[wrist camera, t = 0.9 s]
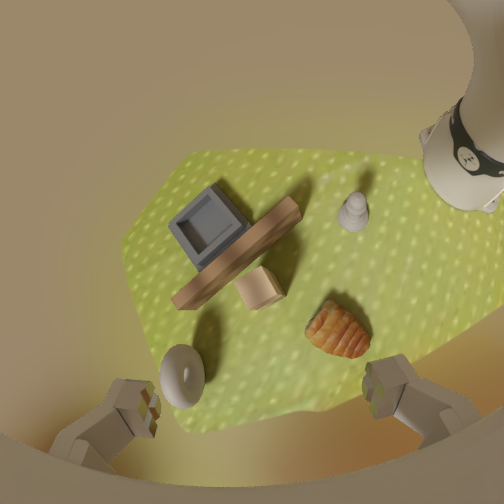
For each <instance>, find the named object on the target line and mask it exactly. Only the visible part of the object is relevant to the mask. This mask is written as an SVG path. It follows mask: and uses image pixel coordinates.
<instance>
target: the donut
mask: <svg viewBox="0 0 504 504" xmlns="http://www.w3.org/2000/svg"><path fill="white" fill-rule="evenodd" d="M160 383H161V388H162V391H163V393H164V395H165V397H166V399H167V400H168V401H169V402H170V403H171V404H172V405H173V406H174V407H177V408H181V409H187V408H190V407H193V406H194V405H195V404H196V403H197V402H198V401H199V400H200V398H201V396H202V393H203V390H204V384H205V371H204V366H203V362H202V359H201V357H200V355H199V354H198V352H197V351H196V350H195V349H194V348H193V347H191V346H189V345H185V344H178V345H176V346H174V347H172V348H170V349H169V351H168V352H167V353H166V354H165V356H164V358H163V361H162V363H161V369H160Z"/></svg>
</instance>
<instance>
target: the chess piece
mask: <svg viewBox="0 0 504 504" xmlns="http://www.w3.org/2000/svg"><path fill="white" fill-rule="evenodd" d="M366 204H367V199H366V197H365V195H364V194H363V193H361V192H353V193H351V194H350V195H349V197H348V200H347V202H346V203H345V204H343V205H342V207H341V208H340V210H339V212H338V220H339V223H340V225H341V226H342V227H343V228H344V229H346V230H347V231H350V232H357V231H360V230H362V229H363V228H364V227H365V226H366V225H367V222H368V212H367V209H366Z"/></svg>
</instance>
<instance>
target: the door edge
mask: <svg viewBox="0 0 504 504" xmlns="http://www.w3.org/2000/svg"><path fill="white" fill-rule="evenodd" d="M301 220H302V216H301V213H300V209H299V206H298V205H297V204H296V203H295V202H294V201H293V200H292V199H291V197H290V196H287V197H286V198H285V199H284V200H283V201H282V202H280V203H279V204H278V205H277V206H276V207H275V208H273V209H272V210H271V211H270V212H269V213H268V214H266V215H265V216H264V217H263V218H262V219H261V220H259V221H258V222H257V223H256V224H255V225H254V226H252V227H251V228H250V229H249V230H248V231H247V232H246V233H244V234H243V235H242V236H241V237H240V238H239V239H238V240H236V241H235V242H234V243H233V244H232V245H231V246H229V247H228V248H227V249H226V250H225V251H224V252H223V253H222V254H220V255H219V256H218V257H217V258H216V259H215V260H214V261H212V262H211V263H210V264H209V265H208V266H207V267H206V268H205V269H203V270H202V271H201V272H200V273H199V274H198V275H197V276H195V277H194V278H193V279H192V280H191V281H190V282H189V283H188V284H187V285H185V286H184V287H183V288H182V289H181V290H180V291H179V292H178V293H176V294H175V295H174V296H173V297H172V298H171V301H172V302H173V304H174V305H175V307H176V308H177V310H197V309H198V308H199V307H200V306H202V305H203V304H204V303H205V302H206V301H207V300H209V299H210V298H211V297H212V296H213V295H215V294H216V293H217V292H218V291H219V290H220V289H222V288H223V287H224V286H225V285H226V284H227V283H229V282H230V281H231V280H232V279H233V278H234V277H236V276H237V275H238V274H239V273H240V272H242V271H243V270H244V269H245V268H246V267H247V266H249V265H250V264H251V263H252V262H253V261H254V260H256V259H257V258H258V257H259V256H260V255H261V254H263V253H264V252H265V251H266V250H267V249H268V248H269V247H271V246H272V245H273V244H274V243H275V242H276V241H278V240H279V239H280V238H281V237H282V236H283V235H285V234H286V233H287V232H288V231H289V230H290V229H292V228H293V227H294V226H295V225H296V224H297V223H298V222H300V221H301Z"/></svg>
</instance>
